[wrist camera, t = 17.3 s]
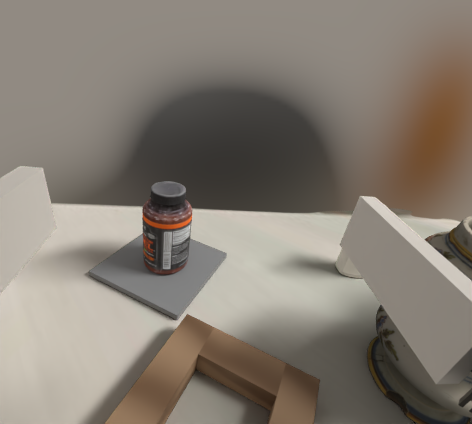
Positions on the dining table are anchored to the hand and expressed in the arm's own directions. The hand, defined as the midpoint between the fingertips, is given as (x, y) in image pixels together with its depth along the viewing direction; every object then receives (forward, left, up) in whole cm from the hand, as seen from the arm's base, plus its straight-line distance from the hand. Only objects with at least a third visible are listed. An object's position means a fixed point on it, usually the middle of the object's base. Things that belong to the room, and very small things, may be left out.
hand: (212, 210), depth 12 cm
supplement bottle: (-15, -13, -20) cm, 28 cm away
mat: (-15, -13, -20) cm, 28 cm away
